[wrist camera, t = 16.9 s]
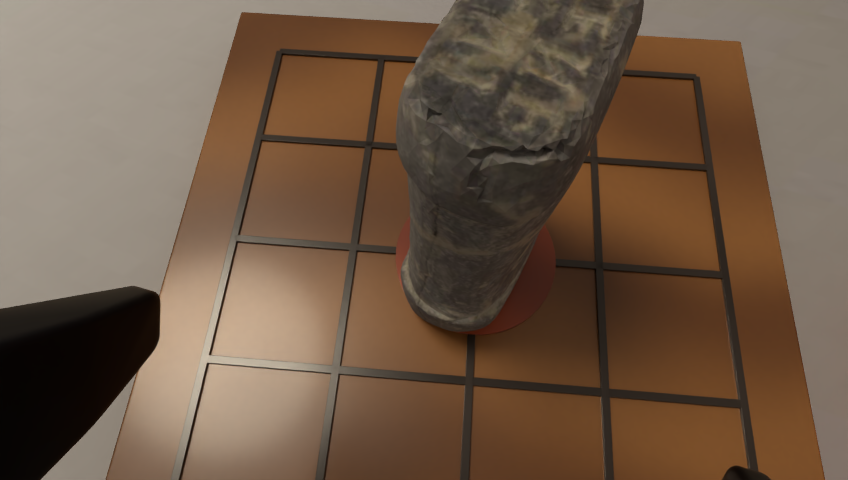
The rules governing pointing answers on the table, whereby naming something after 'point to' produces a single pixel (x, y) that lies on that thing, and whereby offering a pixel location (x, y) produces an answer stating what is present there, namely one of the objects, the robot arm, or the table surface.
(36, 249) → the table surface
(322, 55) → the grid board
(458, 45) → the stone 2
